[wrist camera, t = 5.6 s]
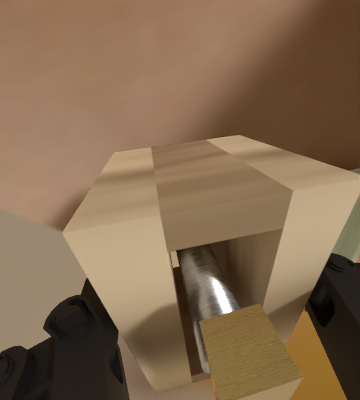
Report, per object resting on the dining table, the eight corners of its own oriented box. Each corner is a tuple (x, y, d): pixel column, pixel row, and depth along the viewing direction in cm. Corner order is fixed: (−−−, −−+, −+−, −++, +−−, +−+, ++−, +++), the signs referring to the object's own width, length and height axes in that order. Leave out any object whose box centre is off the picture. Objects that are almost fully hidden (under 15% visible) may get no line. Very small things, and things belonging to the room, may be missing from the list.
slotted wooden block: (113, 152, 8) (61, 233, 3) (238, 134, 9) (367, 177, 4) (155, 293, 14) (160, 403, 9) (229, 276, 15) (274, 369, 10)
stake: (139, 165, 14) (119, 440, 3) (193, 154, 14) (388, 348, 3) (155, 220, 17) (180, 464, 5) (200, 209, 17) (312, 417, 6)
